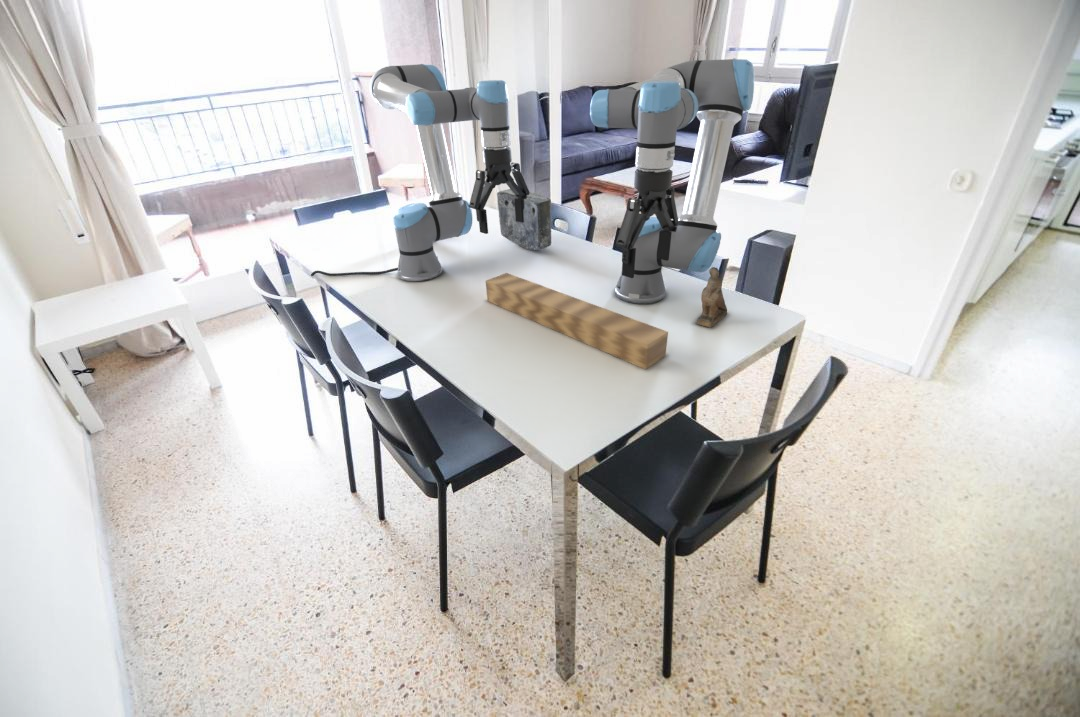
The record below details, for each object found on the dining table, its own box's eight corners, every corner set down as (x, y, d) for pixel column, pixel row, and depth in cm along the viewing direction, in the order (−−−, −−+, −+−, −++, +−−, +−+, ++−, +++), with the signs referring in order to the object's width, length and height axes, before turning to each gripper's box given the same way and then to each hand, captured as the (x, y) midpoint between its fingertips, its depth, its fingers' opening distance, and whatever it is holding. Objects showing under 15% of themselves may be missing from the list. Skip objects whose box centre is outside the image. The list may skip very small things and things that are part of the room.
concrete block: (556, 252, 190) (555, 199, 179) (537, 257, 186) (535, 203, 175) (517, 236, 209) (515, 187, 198) (500, 240, 204) (496, 190, 194)
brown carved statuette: (709, 335, 136) (713, 280, 124) (691, 329, 139) (693, 274, 128) (730, 313, 142) (736, 258, 130) (712, 307, 145) (716, 253, 133)
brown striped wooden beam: (487, 301, 155) (485, 280, 151) (507, 292, 160) (506, 272, 156) (645, 369, 118) (647, 344, 115) (665, 355, 124) (668, 331, 120)
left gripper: (468, 156, 121) (476, 240, 132) (540, 142, 136) (542, 219, 147) (449, 152, 126) (459, 235, 137) (521, 140, 140) (524, 215, 152)
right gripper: (632, 182, 91) (626, 288, 102) (702, 160, 106) (690, 255, 117) (600, 177, 96) (597, 279, 107) (671, 157, 110) (662, 249, 121)
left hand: (502, 227), depth 142 cm, fingers open, 13 cm apart
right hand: (645, 267), depth 112 cm, fingers open, 13 cm apart
